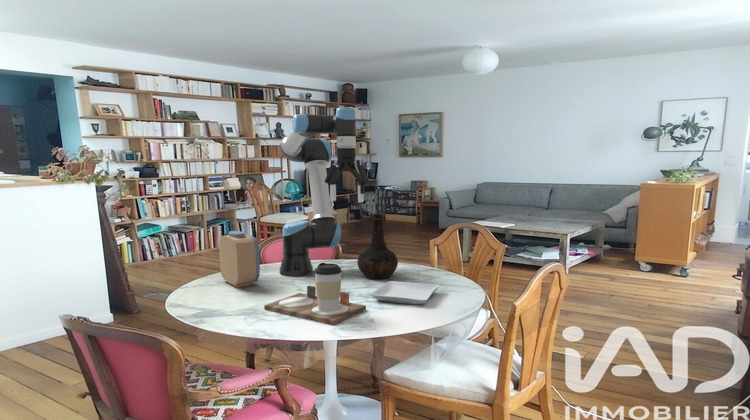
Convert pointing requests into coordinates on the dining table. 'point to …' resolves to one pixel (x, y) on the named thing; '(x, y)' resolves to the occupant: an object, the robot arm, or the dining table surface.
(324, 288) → the coffee cup
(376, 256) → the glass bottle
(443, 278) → the dining table surface
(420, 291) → the salad plate
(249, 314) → the dining table surface
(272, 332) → the dining table surface
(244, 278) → the alarm clock
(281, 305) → the tag board
